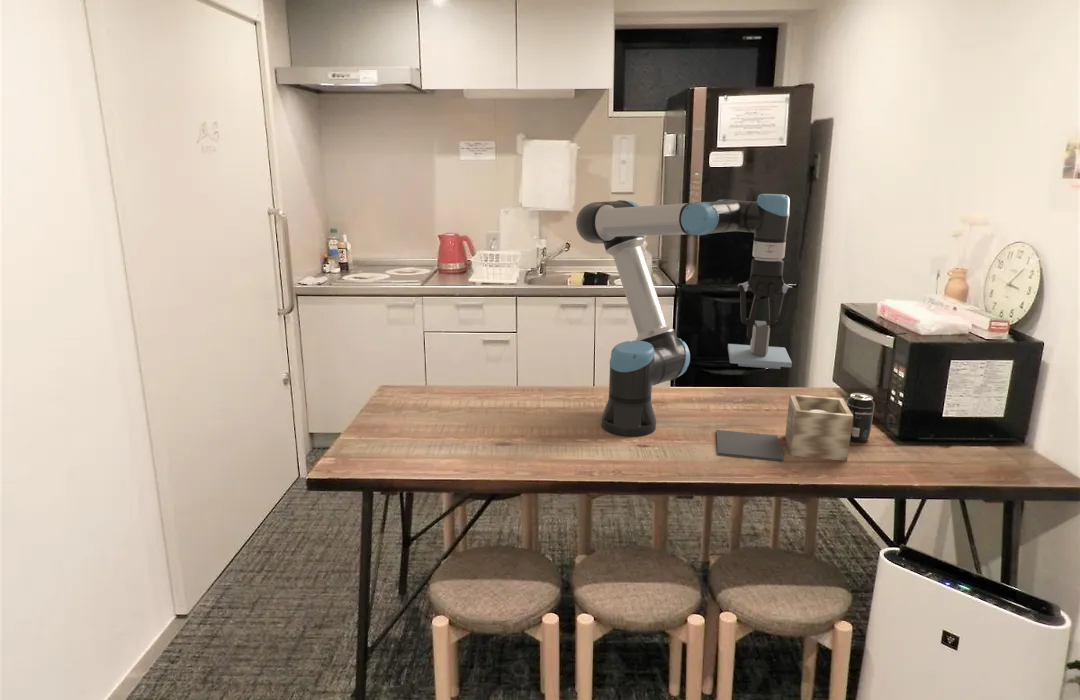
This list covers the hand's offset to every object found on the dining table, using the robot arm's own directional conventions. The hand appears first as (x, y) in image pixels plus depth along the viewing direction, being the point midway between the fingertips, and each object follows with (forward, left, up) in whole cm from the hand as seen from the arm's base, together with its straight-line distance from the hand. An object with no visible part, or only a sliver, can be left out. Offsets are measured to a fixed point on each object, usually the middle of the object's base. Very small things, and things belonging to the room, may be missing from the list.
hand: (758, 351), depth 180 cm
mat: (0, 0, -26) cm, 26 cm away
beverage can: (+29, +13, -26) cm, 41 cm away
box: (+17, +3, -26) cm, 31 cm away
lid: (0, 0, -3) cm, 3 cm away
